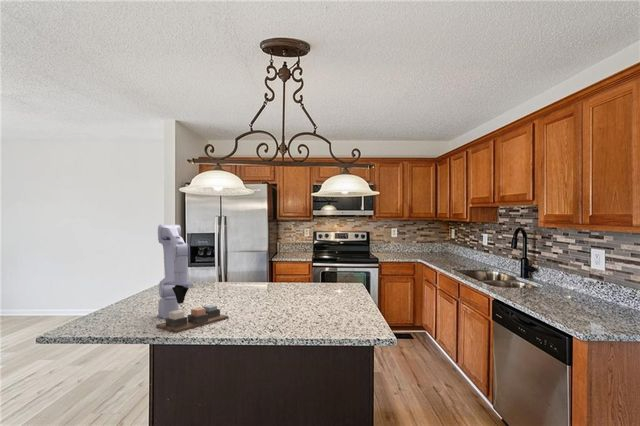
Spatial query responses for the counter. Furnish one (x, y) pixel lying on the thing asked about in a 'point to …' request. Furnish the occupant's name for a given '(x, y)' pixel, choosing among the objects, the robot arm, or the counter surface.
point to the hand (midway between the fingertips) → (180, 303)
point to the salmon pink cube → (198, 311)
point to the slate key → (210, 307)
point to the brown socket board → (191, 321)
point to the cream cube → (176, 315)
